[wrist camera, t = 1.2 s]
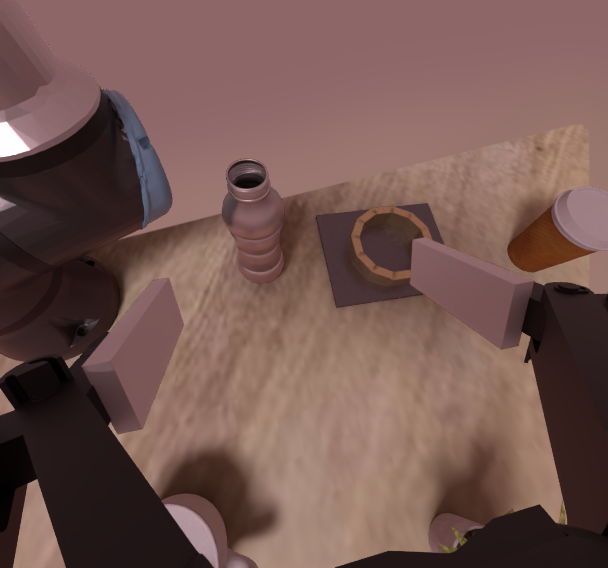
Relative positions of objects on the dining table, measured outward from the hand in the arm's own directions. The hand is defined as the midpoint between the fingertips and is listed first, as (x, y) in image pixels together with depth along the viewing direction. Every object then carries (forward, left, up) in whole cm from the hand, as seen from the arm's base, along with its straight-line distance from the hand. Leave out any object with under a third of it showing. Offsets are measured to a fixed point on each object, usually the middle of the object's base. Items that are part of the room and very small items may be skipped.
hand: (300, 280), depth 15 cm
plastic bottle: (-2, +13, -26) cm, 29 cm away
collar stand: (+18, +13, -26) cm, 34 cm away
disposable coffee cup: (+42, +9, -26) cm, 50 cm away
